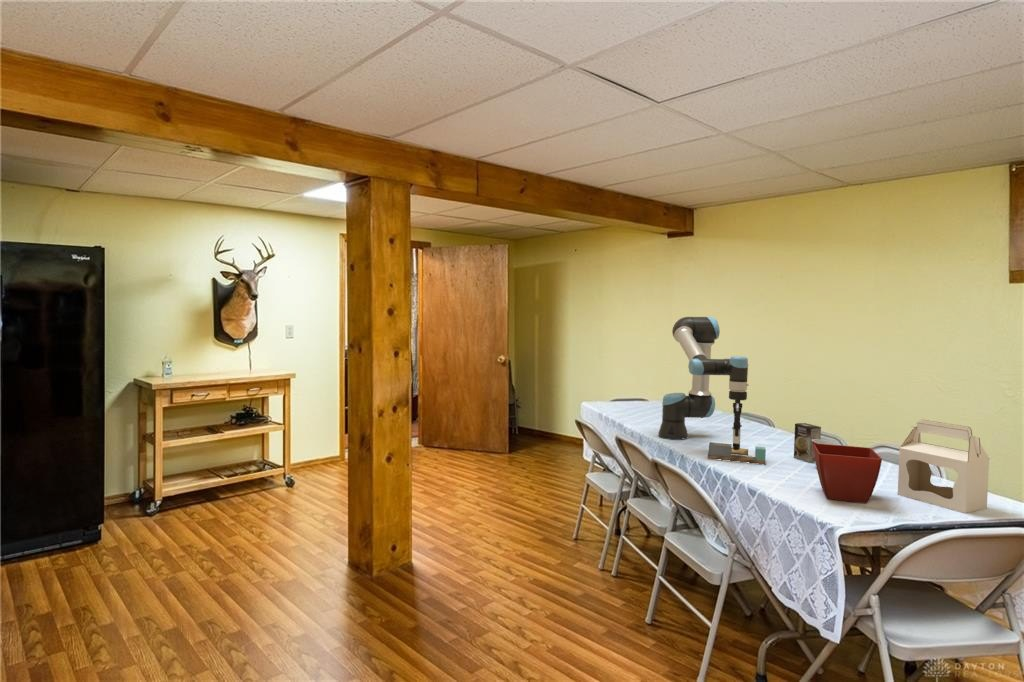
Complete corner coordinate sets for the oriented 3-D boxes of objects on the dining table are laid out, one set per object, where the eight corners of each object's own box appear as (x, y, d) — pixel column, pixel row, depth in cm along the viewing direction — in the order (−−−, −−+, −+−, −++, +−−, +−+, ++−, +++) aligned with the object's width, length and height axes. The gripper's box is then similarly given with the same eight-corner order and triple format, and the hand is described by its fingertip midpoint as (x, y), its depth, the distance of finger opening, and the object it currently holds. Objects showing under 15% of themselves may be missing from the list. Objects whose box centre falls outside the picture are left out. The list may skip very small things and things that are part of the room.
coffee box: (792, 457, 259) (794, 423, 258) (803, 457, 261) (805, 422, 260) (808, 462, 250) (810, 427, 250) (820, 461, 252) (821, 426, 252)
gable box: (896, 494, 207) (899, 418, 206) (917, 490, 212) (921, 416, 211) (966, 513, 187) (970, 430, 185) (988, 508, 192) (992, 427, 191)
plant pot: (811, 485, 216) (812, 442, 215) (869, 492, 209) (871, 447, 208) (817, 500, 198) (818, 453, 198) (880, 508, 191) (882, 459, 190)
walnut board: (707, 458, 255) (707, 455, 255) (708, 455, 262) (708, 452, 262) (765, 464, 246) (765, 461, 246) (764, 461, 253) (764, 457, 253)
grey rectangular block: (708, 455, 256) (709, 444, 256) (709, 452, 261) (709, 442, 260) (731, 457, 252) (731, 446, 252) (731, 455, 257) (731, 444, 257)
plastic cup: (844, 472, 235) (845, 444, 235) (818, 472, 235) (819, 443, 235) (830, 465, 246) (831, 438, 245) (805, 465, 246) (806, 438, 246)
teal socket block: (755, 459, 249) (755, 448, 248) (755, 457, 253) (755, 446, 253) (765, 460, 247) (765, 449, 247) (764, 458, 252) (765, 447, 251)
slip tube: (714, 453, 256) (715, 421, 255) (715, 451, 259) (716, 420, 258) (748, 456, 251) (749, 424, 250) (748, 454, 253) (749, 423, 253)
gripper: (747, 393, 243) (745, 447, 244) (746, 389, 259) (745, 439, 260) (728, 392, 246) (727, 445, 247) (729, 388, 262) (728, 437, 263)
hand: (736, 442), depth 254 cm, fingers open, 4 cm apart
